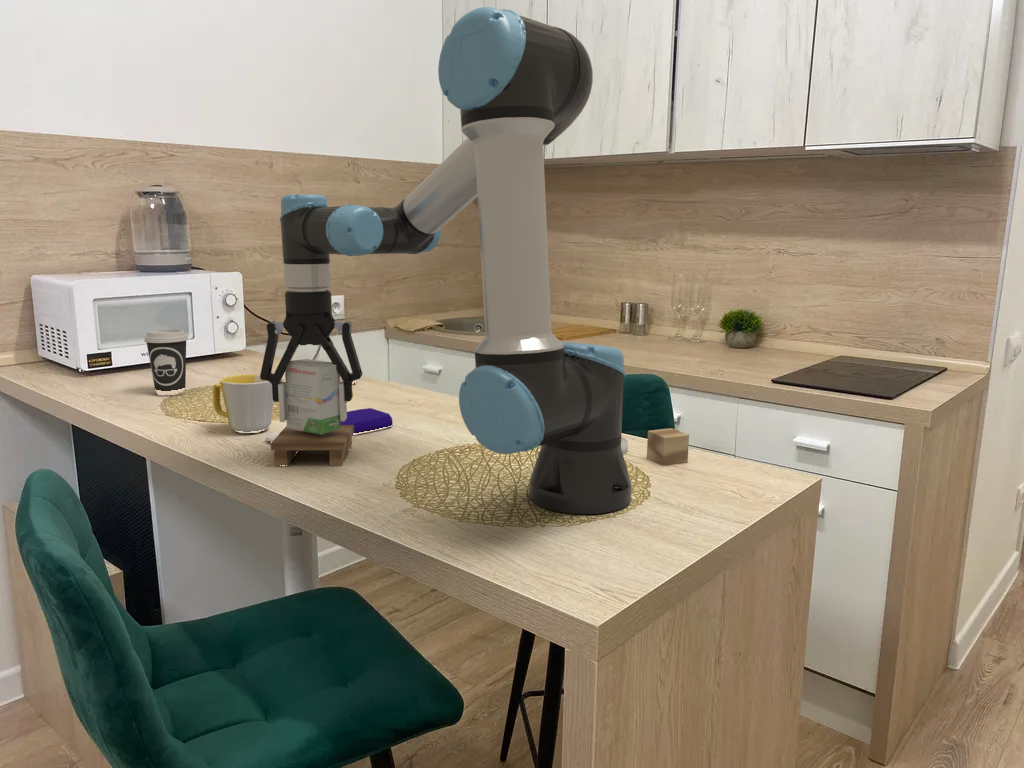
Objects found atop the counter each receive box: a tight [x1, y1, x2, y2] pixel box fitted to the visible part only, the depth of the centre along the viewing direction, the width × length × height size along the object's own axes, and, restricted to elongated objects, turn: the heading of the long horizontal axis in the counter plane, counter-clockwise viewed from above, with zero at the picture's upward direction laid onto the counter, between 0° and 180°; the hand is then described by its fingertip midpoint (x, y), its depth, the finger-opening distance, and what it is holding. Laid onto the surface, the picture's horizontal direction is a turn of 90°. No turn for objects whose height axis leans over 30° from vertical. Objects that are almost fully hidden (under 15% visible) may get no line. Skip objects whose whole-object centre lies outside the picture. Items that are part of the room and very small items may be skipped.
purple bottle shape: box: [265, 407, 393, 443], centre depth 149 cm, size 3×11×24 cm
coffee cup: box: [143, 328, 189, 391], centre depth 182 cm, size 10×10×15 cm
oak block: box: [646, 427, 690, 467], centre depth 132 cm, size 5×5×5 cm
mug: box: [212, 373, 274, 432], centre depth 150 cm, size 14×10×10 cm
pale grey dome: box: [621, 436, 629, 456], centre depth 139 cm, size 9×9×2 cm
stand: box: [270, 425, 354, 467], centre depth 133 cm, size 12×12×4 cm
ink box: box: [285, 358, 340, 435], centre depth 132 cm, size 9×5×12 cm, turn 58°
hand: (313, 419), depth 132 cm, fingers closed on ink box, 9 cm apart
